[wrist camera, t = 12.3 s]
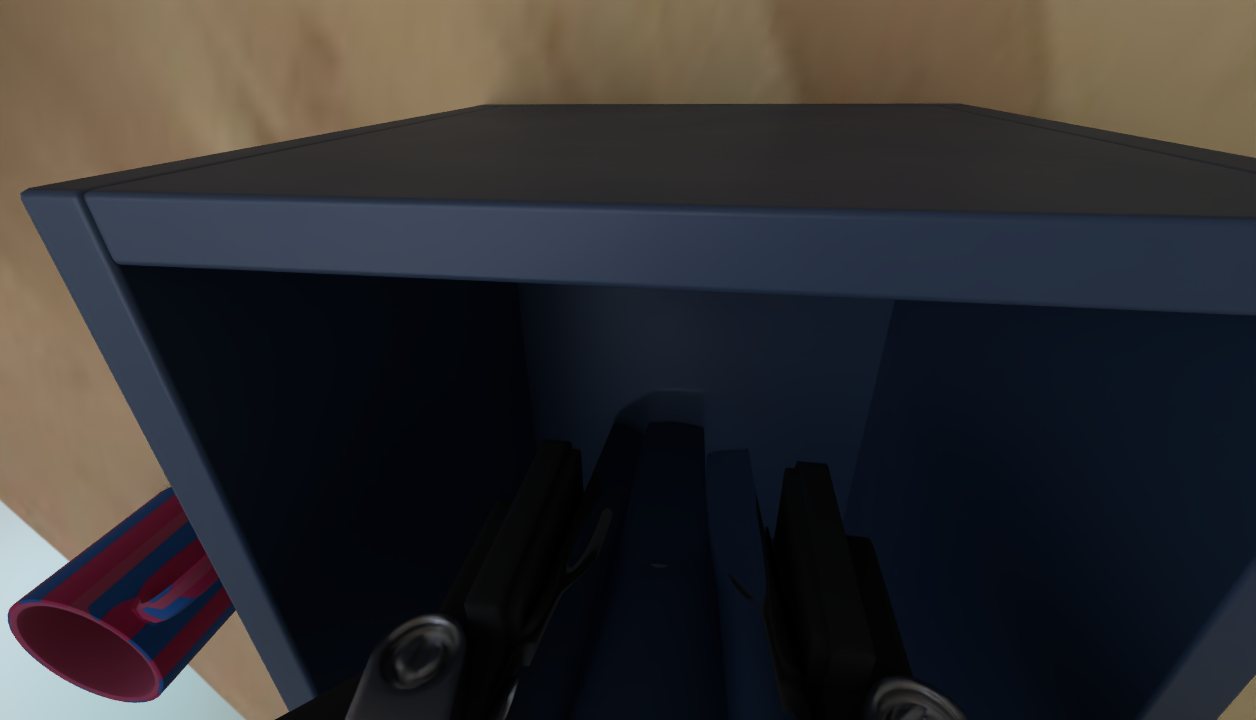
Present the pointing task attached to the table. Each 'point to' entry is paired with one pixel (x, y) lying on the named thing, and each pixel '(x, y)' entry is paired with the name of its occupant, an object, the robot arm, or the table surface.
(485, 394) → the chest
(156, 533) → the cup
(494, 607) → the robot arm
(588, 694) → the milkshake
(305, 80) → the table surface
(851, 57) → the table surface
